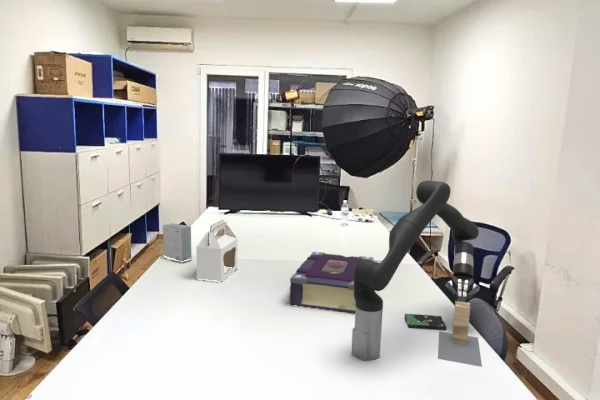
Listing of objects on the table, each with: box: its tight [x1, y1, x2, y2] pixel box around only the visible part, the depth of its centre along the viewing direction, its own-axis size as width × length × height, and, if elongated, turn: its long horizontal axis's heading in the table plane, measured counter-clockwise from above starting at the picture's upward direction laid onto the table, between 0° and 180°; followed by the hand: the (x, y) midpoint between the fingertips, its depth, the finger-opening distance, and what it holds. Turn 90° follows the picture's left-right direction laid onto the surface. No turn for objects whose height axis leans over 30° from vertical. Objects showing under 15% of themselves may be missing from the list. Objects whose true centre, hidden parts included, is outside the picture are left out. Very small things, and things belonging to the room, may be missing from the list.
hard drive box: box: [162, 223, 192, 261], centre depth 252 cm, size 16×8×20 cm, turn 58°
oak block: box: [451, 300, 471, 344], centre depth 163 cm, size 5×5×14 cm
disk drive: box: [404, 313, 448, 331], centre depth 177 cm, size 10×3×15 cm
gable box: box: [195, 219, 238, 281], centre depth 227 cm, size 22×13×28 cm, turn 167°
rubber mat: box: [437, 330, 483, 368], centre depth 158 cm, size 22×14×1 cm, turn 161°
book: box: [289, 251, 374, 315], centre depth 209 cm, size 33×45×14 cm
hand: (461, 307), depth 167 cm, fingers closed
